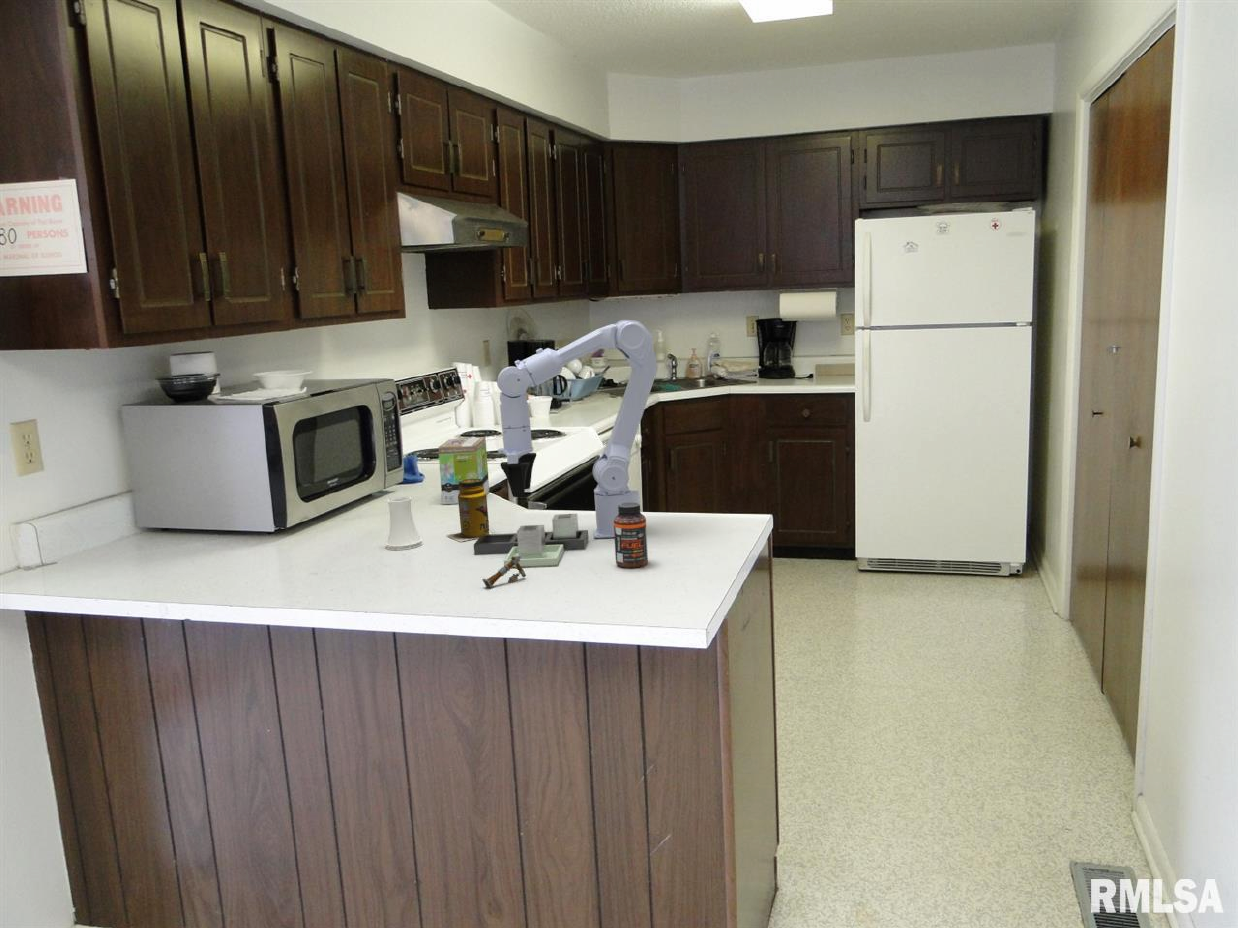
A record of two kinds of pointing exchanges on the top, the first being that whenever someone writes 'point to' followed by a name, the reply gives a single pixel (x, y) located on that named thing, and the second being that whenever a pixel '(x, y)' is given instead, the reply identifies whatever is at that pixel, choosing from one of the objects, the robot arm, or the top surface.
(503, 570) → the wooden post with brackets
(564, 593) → the top surface
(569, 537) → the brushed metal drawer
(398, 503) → the vase
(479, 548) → the rack frame
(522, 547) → the grey box
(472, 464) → the tea box
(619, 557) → the supplement bottle
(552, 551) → the parts tray
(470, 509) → the condiment
